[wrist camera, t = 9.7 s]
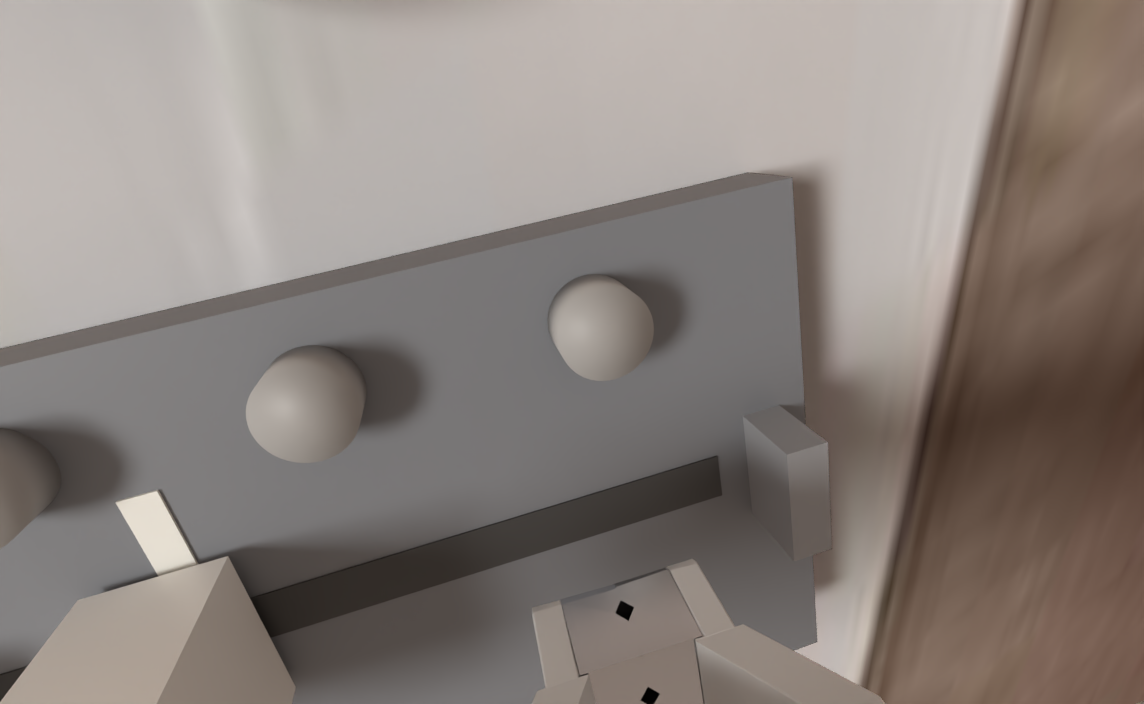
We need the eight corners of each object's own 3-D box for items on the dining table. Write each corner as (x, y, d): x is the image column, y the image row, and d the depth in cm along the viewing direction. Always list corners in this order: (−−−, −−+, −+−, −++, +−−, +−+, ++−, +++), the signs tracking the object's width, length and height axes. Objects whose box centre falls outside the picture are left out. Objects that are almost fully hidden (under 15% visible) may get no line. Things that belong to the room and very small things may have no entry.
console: (747, 172, 15) (851, 183, 11) (781, 596, 20) (860, 698, 16) (-263, 410, 12) (-573, 531, 8) (84, 837, 17) (-11, 1029, 13)
